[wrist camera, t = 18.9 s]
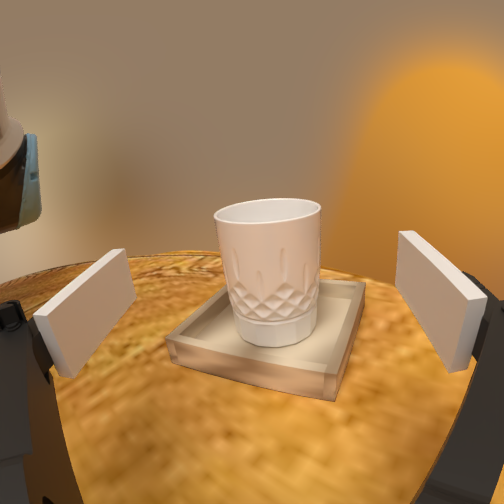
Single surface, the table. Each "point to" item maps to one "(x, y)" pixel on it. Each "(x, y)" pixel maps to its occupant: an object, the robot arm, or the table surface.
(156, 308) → the table surface
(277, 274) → the white cup
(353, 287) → the birch tray
